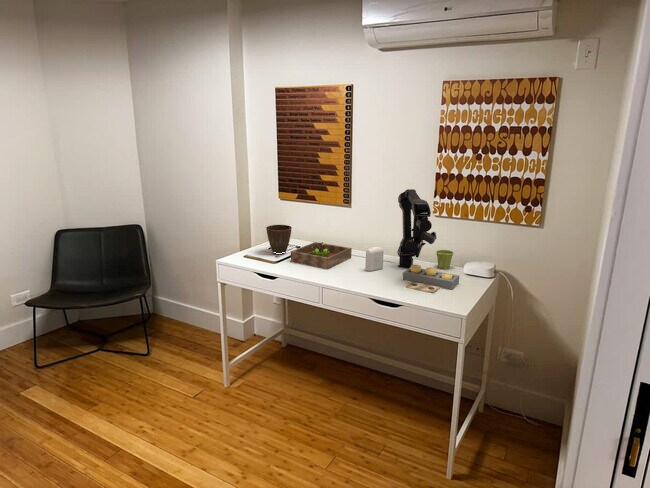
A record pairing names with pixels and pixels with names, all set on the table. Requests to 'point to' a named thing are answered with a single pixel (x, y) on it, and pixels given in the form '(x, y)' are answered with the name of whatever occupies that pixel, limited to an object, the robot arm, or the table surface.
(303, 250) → the brown wooden tray
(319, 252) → the plant
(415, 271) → the button
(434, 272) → the button
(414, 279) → the board
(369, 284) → the table surface
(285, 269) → the table surface
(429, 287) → the card
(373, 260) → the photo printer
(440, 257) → the plant pot
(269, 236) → the plant pot
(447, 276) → the button
